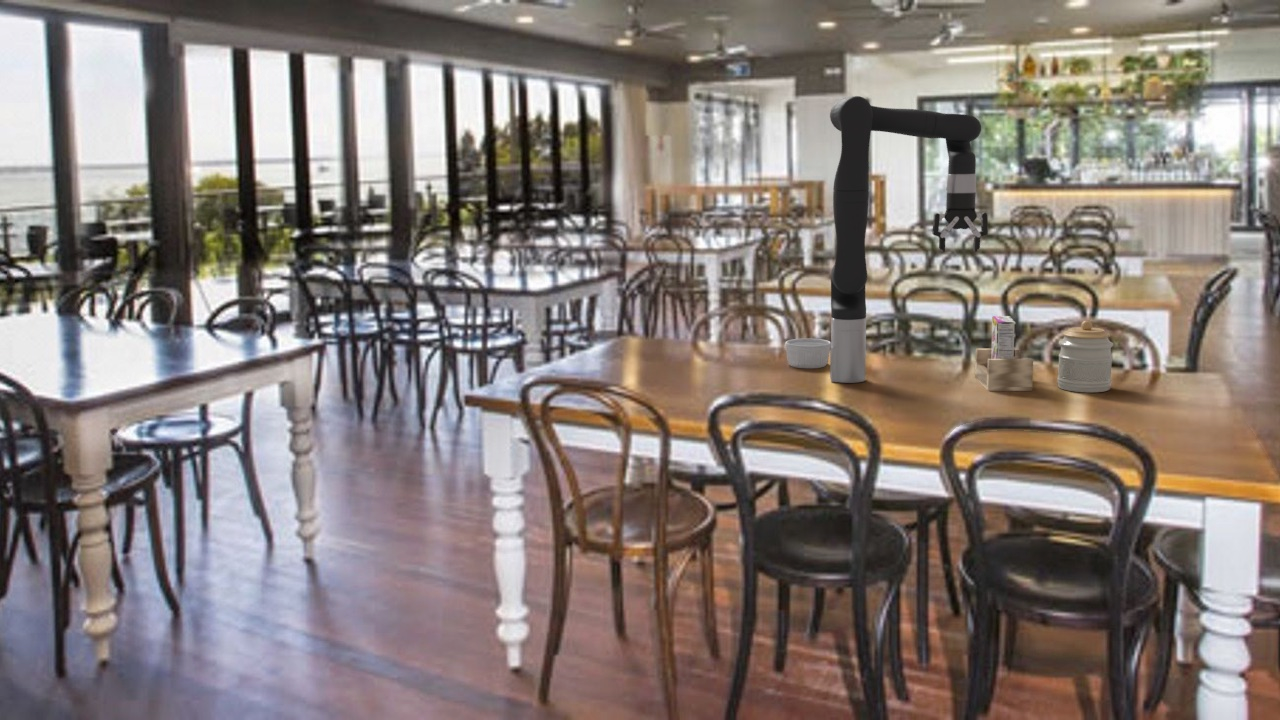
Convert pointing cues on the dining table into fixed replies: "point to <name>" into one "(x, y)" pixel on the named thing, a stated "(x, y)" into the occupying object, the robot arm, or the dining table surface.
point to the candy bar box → (1003, 337)
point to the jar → (1085, 359)
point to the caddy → (1003, 372)
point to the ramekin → (807, 352)
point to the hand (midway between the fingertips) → (959, 251)
